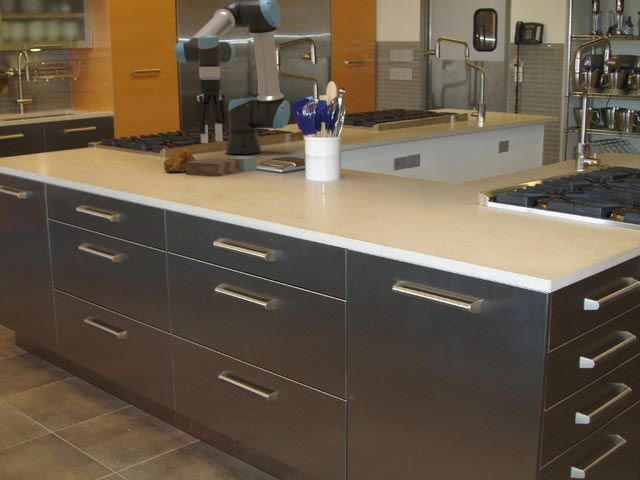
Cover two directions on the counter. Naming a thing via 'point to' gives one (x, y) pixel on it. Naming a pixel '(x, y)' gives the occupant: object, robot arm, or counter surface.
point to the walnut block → (212, 167)
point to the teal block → (246, 163)
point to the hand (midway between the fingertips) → (211, 142)
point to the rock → (178, 161)
